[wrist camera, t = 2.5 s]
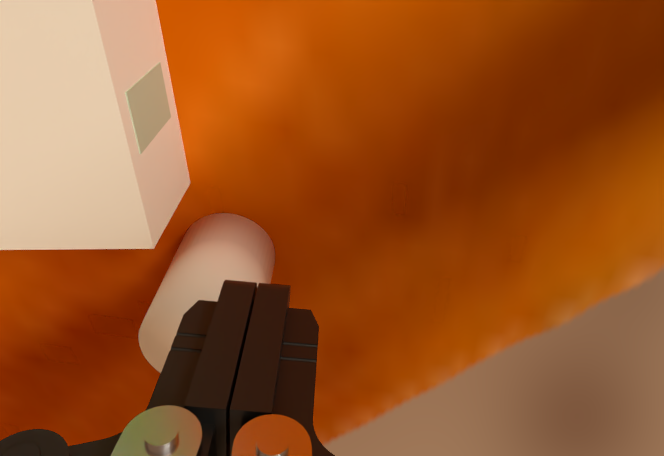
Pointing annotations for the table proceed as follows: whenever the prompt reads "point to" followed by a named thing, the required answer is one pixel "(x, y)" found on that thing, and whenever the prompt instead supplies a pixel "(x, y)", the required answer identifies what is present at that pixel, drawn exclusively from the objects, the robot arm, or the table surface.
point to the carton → (86, 126)
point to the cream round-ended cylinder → (204, 275)
